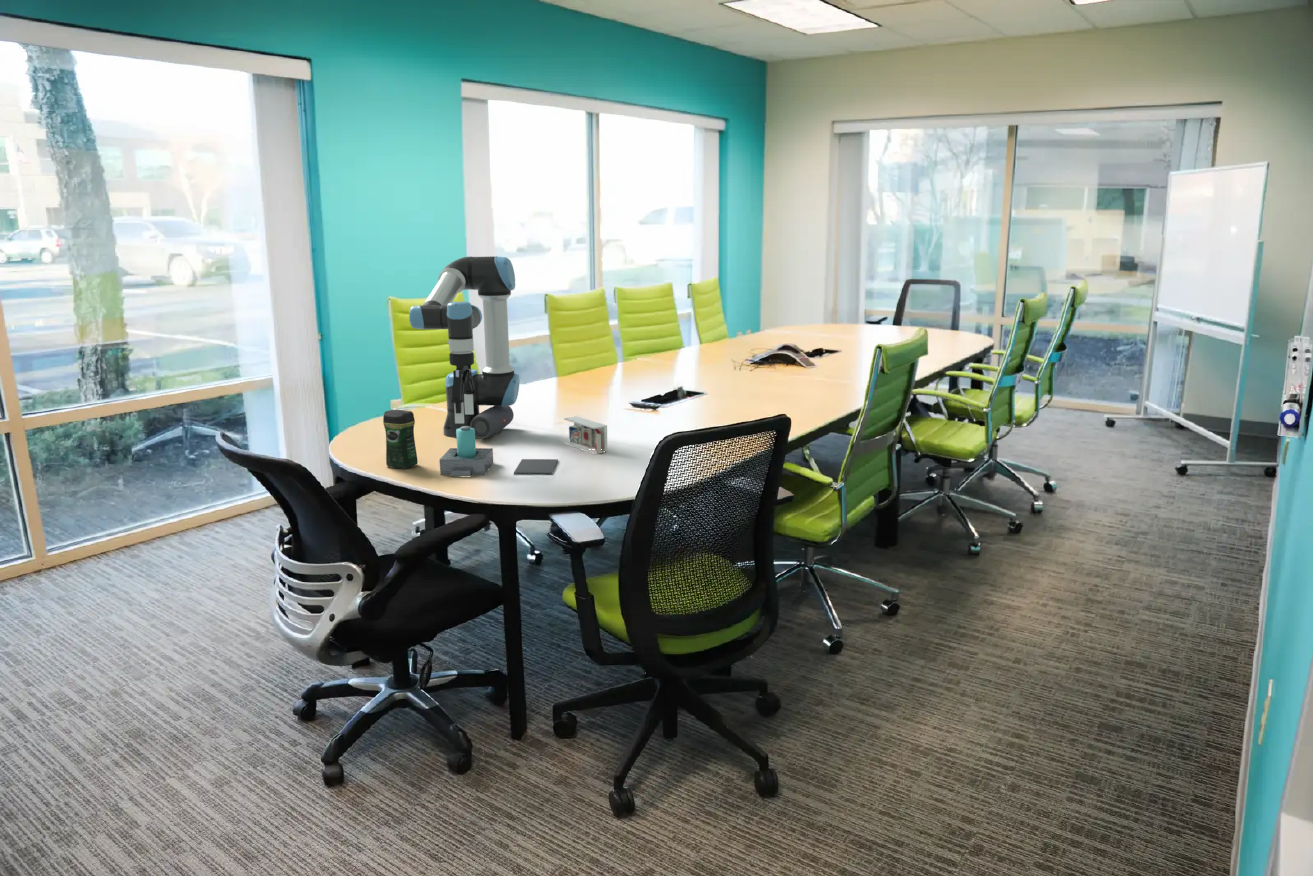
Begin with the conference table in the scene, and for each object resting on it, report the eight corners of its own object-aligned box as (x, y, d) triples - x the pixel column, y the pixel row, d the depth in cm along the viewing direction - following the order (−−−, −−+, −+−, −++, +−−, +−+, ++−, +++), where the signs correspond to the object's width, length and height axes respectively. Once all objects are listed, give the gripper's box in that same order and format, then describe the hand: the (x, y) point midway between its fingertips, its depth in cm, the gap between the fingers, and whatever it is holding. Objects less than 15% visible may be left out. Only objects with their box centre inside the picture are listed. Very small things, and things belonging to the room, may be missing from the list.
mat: (522, 460, 307) (522, 459, 307) (558, 461, 307) (558, 459, 306) (513, 474, 291) (513, 472, 291) (551, 474, 291) (551, 472, 291)
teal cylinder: (460, 466, 300) (458, 425, 297) (478, 466, 300) (476, 425, 297) (456, 471, 295) (454, 429, 291) (474, 471, 295) (472, 429, 291)
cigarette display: (564, 443, 330) (563, 418, 327) (577, 441, 333) (576, 415, 331) (596, 455, 314) (596, 428, 312) (609, 452, 318) (609, 425, 315)
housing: (452, 460, 307) (451, 446, 306) (494, 461, 306) (494, 446, 305) (438, 476, 288) (437, 461, 287) (483, 477, 288) (482, 461, 287)
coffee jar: (422, 464, 302) (418, 409, 298) (406, 470, 295) (402, 413, 291) (398, 461, 306) (394, 406, 302) (382, 467, 299) (378, 411, 295)
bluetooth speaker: (492, 443, 330) (492, 415, 328) (468, 440, 332) (468, 413, 330) (515, 428, 352) (515, 403, 349) (492, 426, 354) (492, 401, 351)
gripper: (458, 346, 300) (461, 410, 305) (439, 357, 276) (443, 427, 281) (481, 346, 300) (484, 410, 305) (464, 357, 276) (467, 427, 281)
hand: (464, 418), depth 293 cm, fingers open, 13 cm apart
